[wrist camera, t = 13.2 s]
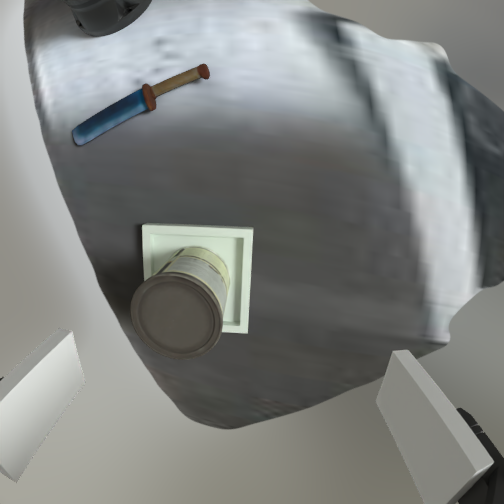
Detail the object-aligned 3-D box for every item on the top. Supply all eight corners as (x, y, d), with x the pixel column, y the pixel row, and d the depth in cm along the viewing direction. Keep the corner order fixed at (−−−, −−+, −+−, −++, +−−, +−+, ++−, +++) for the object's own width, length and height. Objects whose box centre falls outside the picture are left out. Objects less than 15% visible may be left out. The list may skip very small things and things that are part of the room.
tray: (147, 223, 42) (142, 224, 40) (253, 227, 42) (253, 229, 40) (151, 319, 45) (147, 324, 43) (247, 327, 45) (247, 333, 44)
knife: (69, 151, 36) (66, 126, 36) (80, 155, 39) (77, 130, 39) (211, 79, 33) (202, 54, 33) (216, 89, 36) (207, 64, 36)
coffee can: (224, 315, 44) (214, 368, 31) (161, 301, 44) (128, 347, 30) (237, 252, 42) (230, 285, 28) (169, 238, 42) (132, 263, 28)
